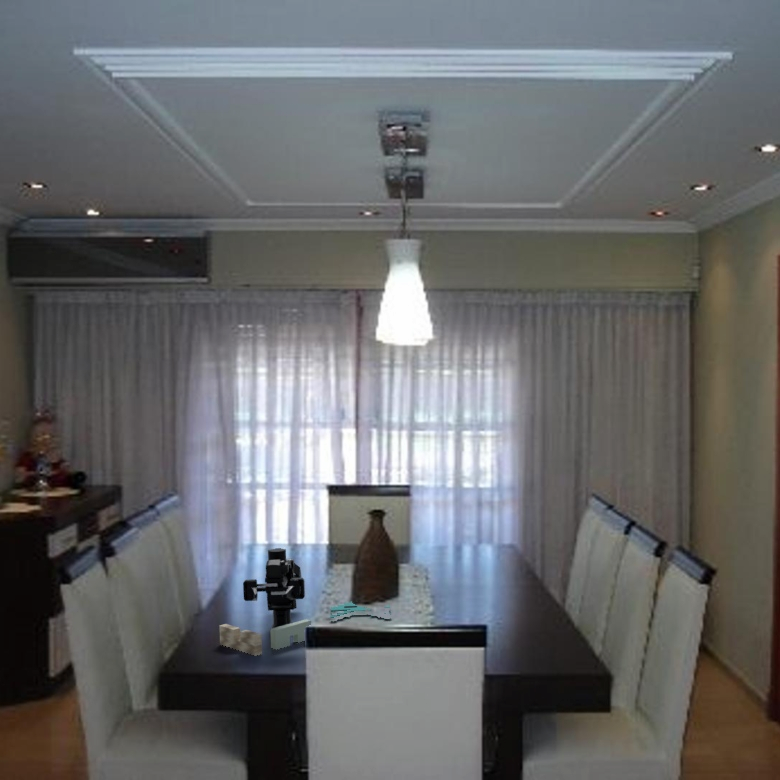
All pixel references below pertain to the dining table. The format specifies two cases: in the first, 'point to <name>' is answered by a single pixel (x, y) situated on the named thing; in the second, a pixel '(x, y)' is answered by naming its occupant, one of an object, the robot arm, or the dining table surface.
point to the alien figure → (348, 607)
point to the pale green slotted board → (288, 634)
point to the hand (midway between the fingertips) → (270, 595)
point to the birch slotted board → (240, 639)
